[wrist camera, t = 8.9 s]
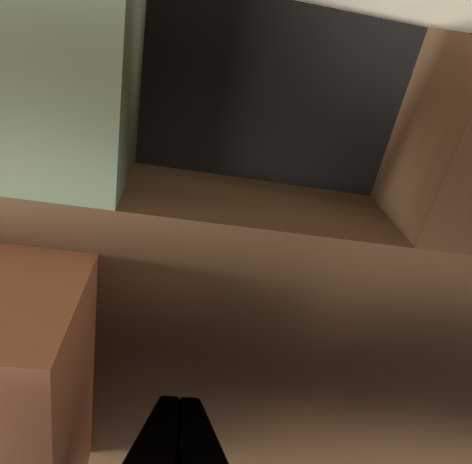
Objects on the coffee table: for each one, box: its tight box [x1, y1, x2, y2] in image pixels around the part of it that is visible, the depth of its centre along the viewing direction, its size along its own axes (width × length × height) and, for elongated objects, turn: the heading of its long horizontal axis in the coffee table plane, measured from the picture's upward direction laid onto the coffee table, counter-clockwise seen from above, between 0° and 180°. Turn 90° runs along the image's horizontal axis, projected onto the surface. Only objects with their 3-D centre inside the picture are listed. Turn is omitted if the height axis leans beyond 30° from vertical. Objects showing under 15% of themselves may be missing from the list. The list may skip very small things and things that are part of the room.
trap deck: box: [0, 0, 472, 464], centre depth 12 cm, size 16×19×3 cm
